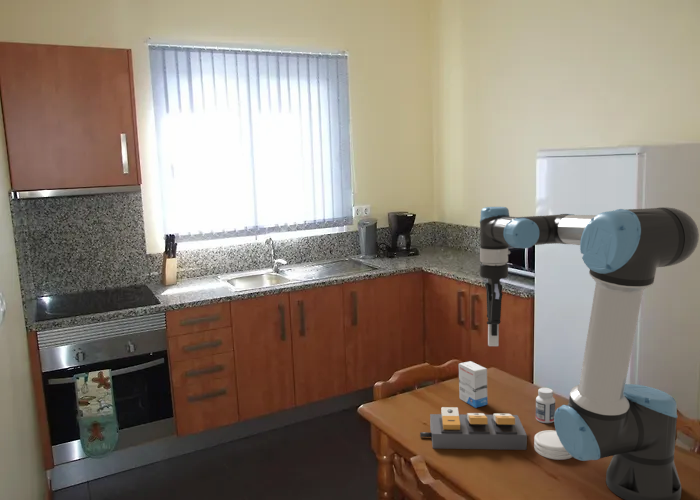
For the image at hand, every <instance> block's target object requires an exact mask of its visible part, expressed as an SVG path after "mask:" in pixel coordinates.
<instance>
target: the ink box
mask: <svg viewBox="0 0 700 500" xmlns="http://www.w3.org/2000/svg"><path fill="white" fill-rule="evenodd" d="M458 385H459V386H458V388H459V391H458V392H459V400H461V401H463V402H465V403H466V404H468V405H470V406H471V407H473V408H475V409H477V408H480V407H485V406H487V405H488V368H486V367H484V366H482V365H481V364H477V363H475V362H474V361H471V360H469V361H465V362H460V363H458Z"/></svg>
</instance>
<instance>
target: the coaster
mask: <svg viewBox="0 0 700 500" xmlns="http://www.w3.org/2000/svg"><path fill="white" fill-rule="evenodd" d="M533 439H534V441H533V443H534V444H533V447H534V448H533V449H534V451H535V452H536V453H537V454H538V455H540V456H542V457H543V458H546V459H551V460H554V461H555V460H557V461H559V460H560V461H563V460H569V459H571V458H574V457H573V456H571V455H570V454H569V453H568V452H567V451H566V449H565V448H564V447H563V445H562V444H561V442H560V440H559V437H558V435H557V432H556V430H554V429H553V430H550V429H549V430H542V431H541V430H540V431H539V432H537V433H536V434H534V437H533Z"/></svg>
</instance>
